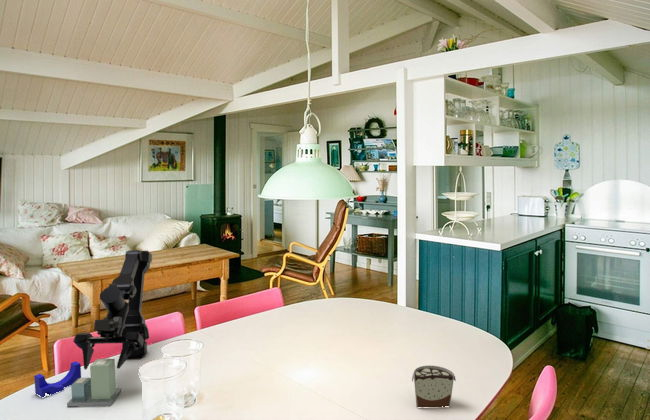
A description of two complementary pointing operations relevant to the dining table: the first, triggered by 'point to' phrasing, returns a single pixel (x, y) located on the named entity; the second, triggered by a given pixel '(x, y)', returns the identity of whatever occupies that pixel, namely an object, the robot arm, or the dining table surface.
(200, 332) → the dining table surface
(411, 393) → the dining table surface
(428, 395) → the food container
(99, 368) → the block
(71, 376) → the blue curved cradle
